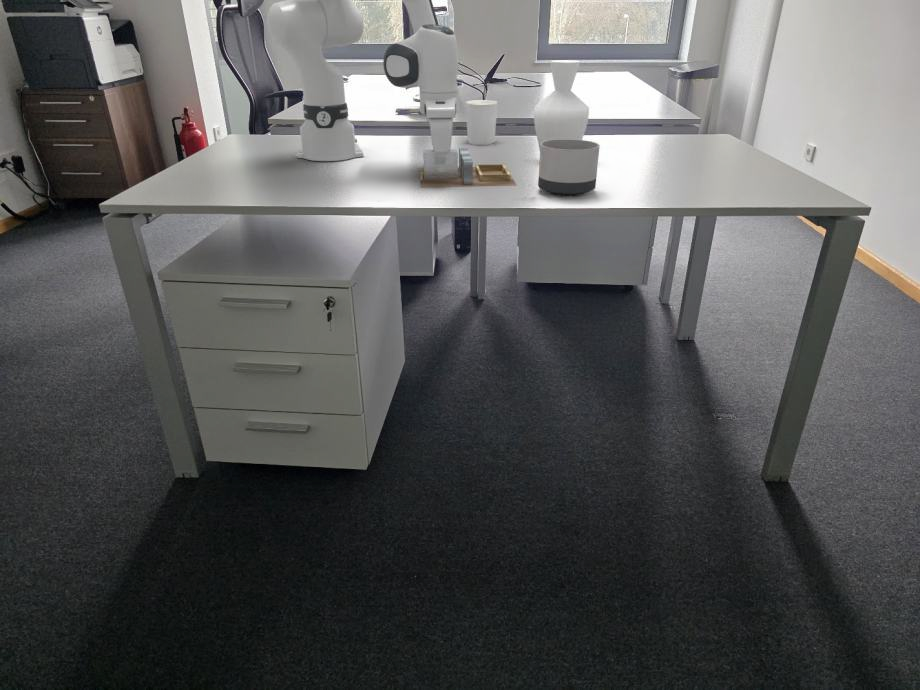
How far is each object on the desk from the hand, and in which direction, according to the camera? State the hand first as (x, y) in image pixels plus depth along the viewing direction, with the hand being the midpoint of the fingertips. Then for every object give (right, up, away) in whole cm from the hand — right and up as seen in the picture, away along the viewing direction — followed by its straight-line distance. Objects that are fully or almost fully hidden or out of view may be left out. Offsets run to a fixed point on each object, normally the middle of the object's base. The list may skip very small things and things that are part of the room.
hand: (440, 166), depth 146 cm
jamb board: (+6, -3, +2) cm, 7 cm away
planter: (+29, -8, -7) cm, 31 cm away
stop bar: (0, -2, +1) cm, 2 cm away
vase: (+31, +7, +22) cm, 39 cm away
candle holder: (+11, +21, +47) cm, 52 cm away
